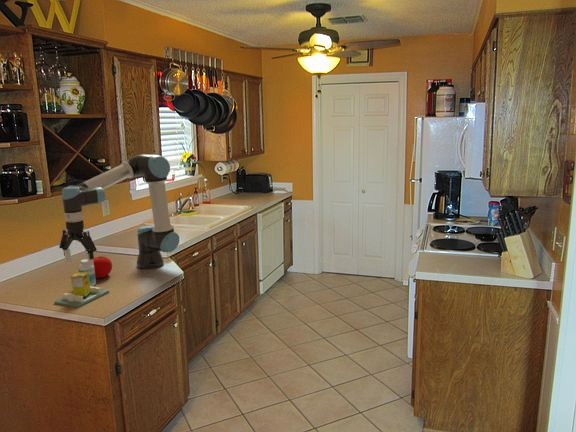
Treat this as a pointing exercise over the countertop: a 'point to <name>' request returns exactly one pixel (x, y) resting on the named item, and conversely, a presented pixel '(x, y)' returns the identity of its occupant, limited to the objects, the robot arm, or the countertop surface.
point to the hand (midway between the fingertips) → (79, 264)
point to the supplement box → (81, 284)
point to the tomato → (102, 266)
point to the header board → (81, 298)
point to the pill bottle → (90, 270)
